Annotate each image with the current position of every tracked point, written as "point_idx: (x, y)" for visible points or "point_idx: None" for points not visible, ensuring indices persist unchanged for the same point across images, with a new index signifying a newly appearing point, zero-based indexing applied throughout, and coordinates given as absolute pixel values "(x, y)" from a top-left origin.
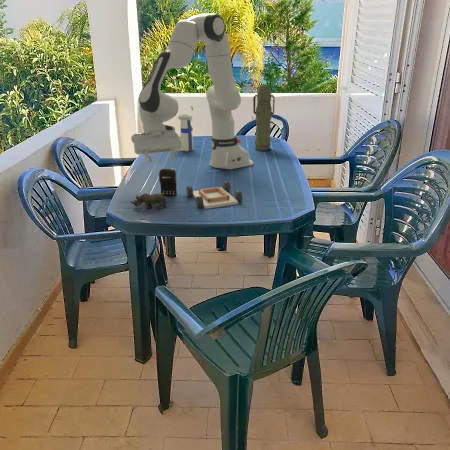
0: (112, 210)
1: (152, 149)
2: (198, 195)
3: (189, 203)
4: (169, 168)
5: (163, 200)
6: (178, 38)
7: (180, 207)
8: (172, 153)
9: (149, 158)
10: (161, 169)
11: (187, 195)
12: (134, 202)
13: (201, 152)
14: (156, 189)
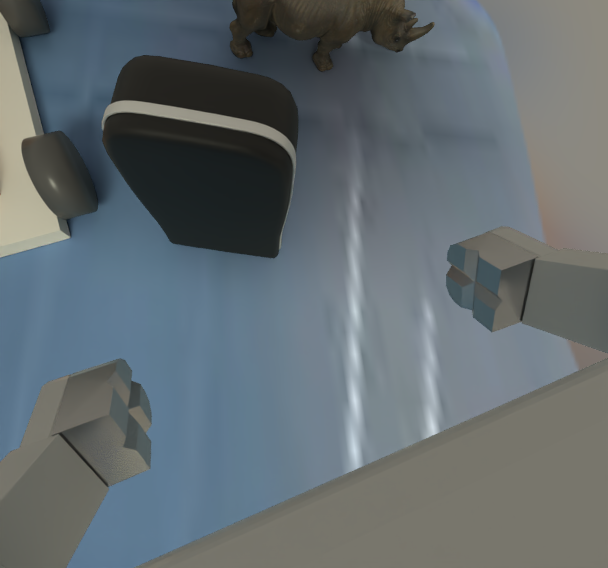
0: (499, 46)
1: (604, 364)
2: (9, 146)
3: (94, 84)
4: (171, 114)
5: None
6: None
7: (152, 36)
8: (22, 464)
9: (505, 241)
10: (274, 126)
11: (95, 198)
12: (410, 27)
13: None
14: (327, 354)
